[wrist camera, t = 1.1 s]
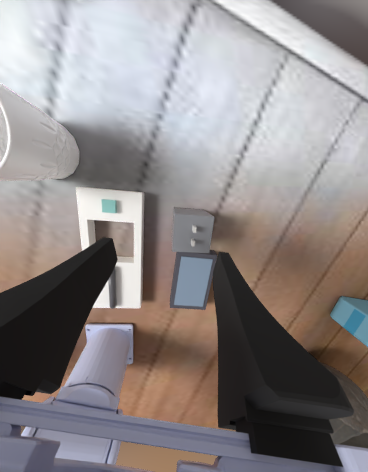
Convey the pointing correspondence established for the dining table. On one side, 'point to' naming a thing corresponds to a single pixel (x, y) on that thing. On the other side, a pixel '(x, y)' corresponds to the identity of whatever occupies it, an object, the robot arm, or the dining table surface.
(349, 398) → the bowl
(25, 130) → the white cup
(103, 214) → the white flat block
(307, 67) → the dining table surface
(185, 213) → the plug
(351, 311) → the blue upright slab
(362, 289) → the dining table surface
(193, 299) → the phone
